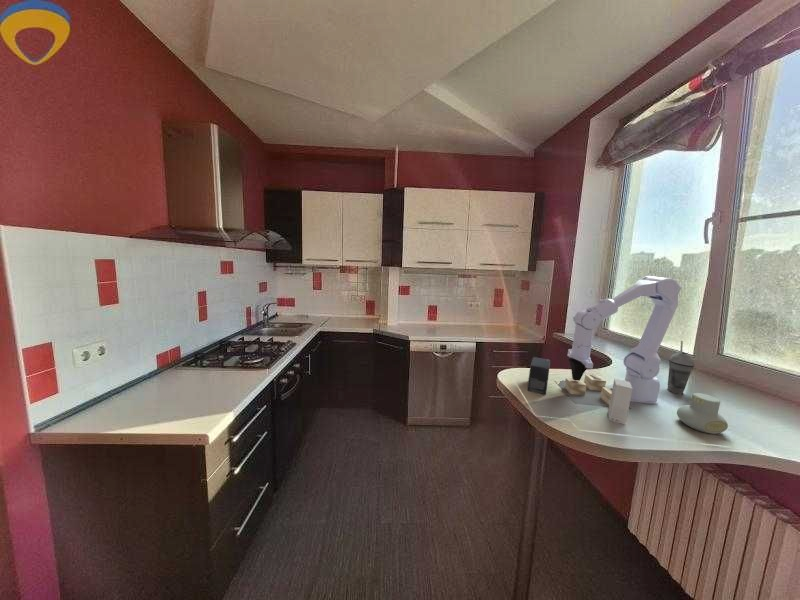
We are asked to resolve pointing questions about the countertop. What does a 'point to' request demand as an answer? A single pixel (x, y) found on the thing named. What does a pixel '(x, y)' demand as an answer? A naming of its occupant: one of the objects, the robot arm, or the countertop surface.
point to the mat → (585, 396)
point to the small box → (538, 375)
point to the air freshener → (703, 414)
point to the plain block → (575, 386)
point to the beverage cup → (679, 371)
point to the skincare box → (620, 401)
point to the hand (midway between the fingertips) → (576, 379)
